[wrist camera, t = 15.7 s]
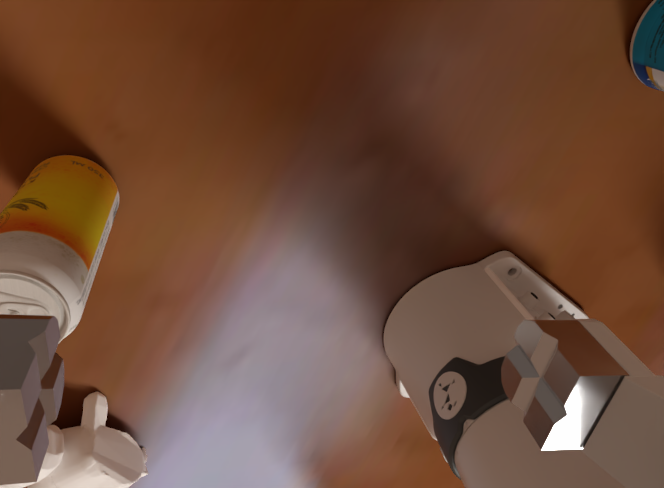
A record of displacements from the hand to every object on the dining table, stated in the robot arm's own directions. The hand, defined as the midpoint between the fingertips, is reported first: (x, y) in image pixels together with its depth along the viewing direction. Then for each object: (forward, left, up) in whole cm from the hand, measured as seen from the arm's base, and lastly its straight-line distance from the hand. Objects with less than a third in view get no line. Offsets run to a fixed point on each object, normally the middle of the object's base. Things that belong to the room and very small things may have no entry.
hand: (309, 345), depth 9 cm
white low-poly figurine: (-1, +39, -31) cm, 50 cm away
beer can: (+6, +15, -31) cm, 35 cm away
